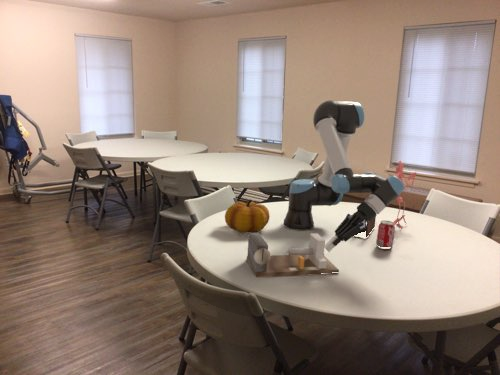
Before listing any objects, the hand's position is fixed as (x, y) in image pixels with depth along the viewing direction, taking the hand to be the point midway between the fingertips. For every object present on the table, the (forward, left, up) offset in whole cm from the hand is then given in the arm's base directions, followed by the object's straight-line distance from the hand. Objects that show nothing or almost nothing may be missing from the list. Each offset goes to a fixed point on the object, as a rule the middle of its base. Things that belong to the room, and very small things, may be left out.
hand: (326, 249), depth 167 cm
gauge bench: (+13, -5, -7) cm, 15 cm away
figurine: (-71, -26, -7) cm, 76 cm away
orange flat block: (+14, +2, -5) cm, 14 cm away
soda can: (-39, -4, -7) cm, 40 cm away
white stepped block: (+9, -1, -5) cm, 10 cm away
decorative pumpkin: (+5, -50, -7) cm, 50 cm away
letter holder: (-46, -24, -7) cm, 53 cm away
